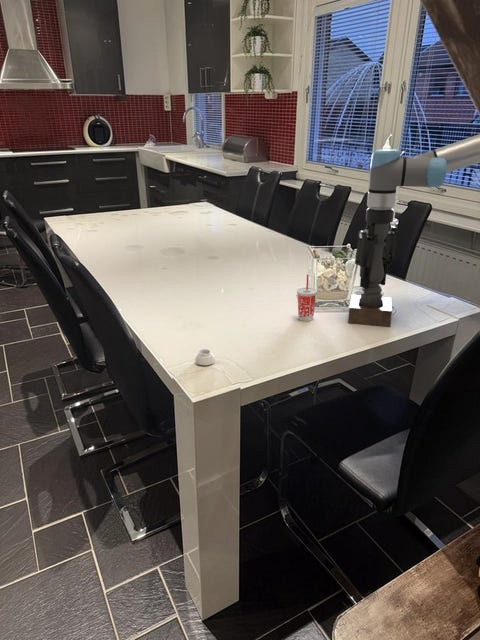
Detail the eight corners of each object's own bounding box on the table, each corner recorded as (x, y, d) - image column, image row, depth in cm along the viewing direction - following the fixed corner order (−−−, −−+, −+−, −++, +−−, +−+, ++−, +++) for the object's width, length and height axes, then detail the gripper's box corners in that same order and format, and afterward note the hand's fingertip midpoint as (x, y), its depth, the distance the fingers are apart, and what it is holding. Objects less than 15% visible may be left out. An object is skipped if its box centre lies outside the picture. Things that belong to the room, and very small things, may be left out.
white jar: (202, 356, 121) (191, 363, 117) (202, 345, 120) (190, 353, 116) (219, 360, 118) (207, 368, 115) (218, 349, 117) (207, 357, 113)
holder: (389, 312, 148) (391, 297, 146) (390, 327, 137) (392, 311, 135) (350, 309, 151) (351, 294, 149) (347, 323, 140) (349, 307, 139)
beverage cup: (310, 313, 148) (313, 271, 143) (318, 320, 143) (321, 276, 137) (292, 315, 147) (294, 272, 141) (300, 322, 141) (302, 278, 136)
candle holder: (377, 308, 139) (386, 224, 129) (357, 305, 142) (364, 222, 132) (383, 302, 143) (392, 221, 134) (364, 299, 147) (371, 219, 137)
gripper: (394, 203, 139) (386, 277, 148) (345, 208, 131) (339, 287, 139) (414, 206, 133) (404, 284, 142) (364, 212, 124) (356, 294, 133)
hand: (372, 285), depth 140 cm, fingers closed on candle holder, 6 cm apart
